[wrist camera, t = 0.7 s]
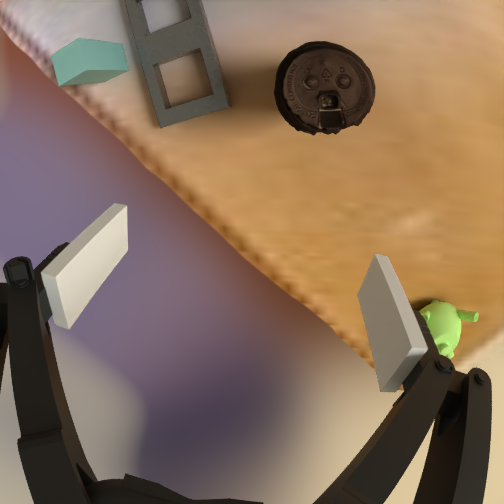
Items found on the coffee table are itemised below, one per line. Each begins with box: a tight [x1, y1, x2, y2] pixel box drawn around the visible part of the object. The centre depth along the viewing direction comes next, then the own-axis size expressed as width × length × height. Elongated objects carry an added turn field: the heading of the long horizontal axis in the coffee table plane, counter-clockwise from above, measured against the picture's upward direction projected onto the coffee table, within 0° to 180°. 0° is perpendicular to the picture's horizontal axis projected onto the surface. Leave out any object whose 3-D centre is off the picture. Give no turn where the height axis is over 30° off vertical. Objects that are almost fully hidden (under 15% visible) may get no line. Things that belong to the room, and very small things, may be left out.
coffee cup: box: [274, 41, 375, 136], centre depth 27 cm, size 9×8×13 cm
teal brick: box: [51, 38, 129, 86], centre depth 28 cm, size 4×4×10 cm
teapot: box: [419, 299, 478, 359], centre depth 43 cm, size 11×12×8 cm
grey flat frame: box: [125, 0, 232, 128], centre depth 30 cm, size 20×9×2 cm, turn 14°
